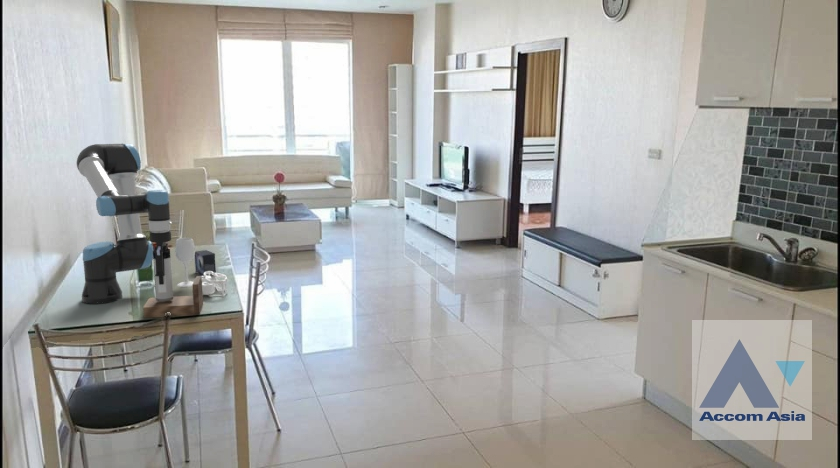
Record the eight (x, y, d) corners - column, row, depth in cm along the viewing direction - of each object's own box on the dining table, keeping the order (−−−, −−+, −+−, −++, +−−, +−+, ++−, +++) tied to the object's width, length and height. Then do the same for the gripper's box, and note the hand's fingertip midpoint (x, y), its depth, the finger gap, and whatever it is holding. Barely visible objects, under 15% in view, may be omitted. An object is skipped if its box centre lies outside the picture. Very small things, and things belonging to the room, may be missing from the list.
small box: (194, 272, 304) (193, 251, 302) (207, 270, 308) (206, 249, 306) (203, 276, 296) (202, 255, 294) (216, 274, 300) (215, 253, 298)
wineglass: (190, 288, 276) (187, 241, 272) (172, 286, 278) (170, 240, 274) (201, 283, 284) (198, 237, 281) (183, 281, 286) (181, 236, 282)
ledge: (143, 317, 235) (141, 286, 233) (150, 307, 248) (148, 278, 246) (199, 314, 240) (197, 284, 238) (203, 304, 252) (201, 275, 250)
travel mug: (176, 297, 246) (172, 247, 242) (169, 301, 239) (166, 250, 235) (160, 297, 245) (156, 247, 242) (153, 301, 239) (149, 250, 235)
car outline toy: (197, 288, 277) (196, 271, 276) (223, 285, 282) (222, 269, 280) (201, 300, 259) (200, 283, 258) (229, 297, 264) (228, 280, 262)
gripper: (166, 235, 229) (170, 296, 233) (174, 226, 247) (178, 282, 251) (144, 235, 227) (148, 297, 231) (154, 226, 245) (158, 283, 250)
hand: (164, 289), depth 241 cm, fingers closed on travel mug, 6 cm apart
